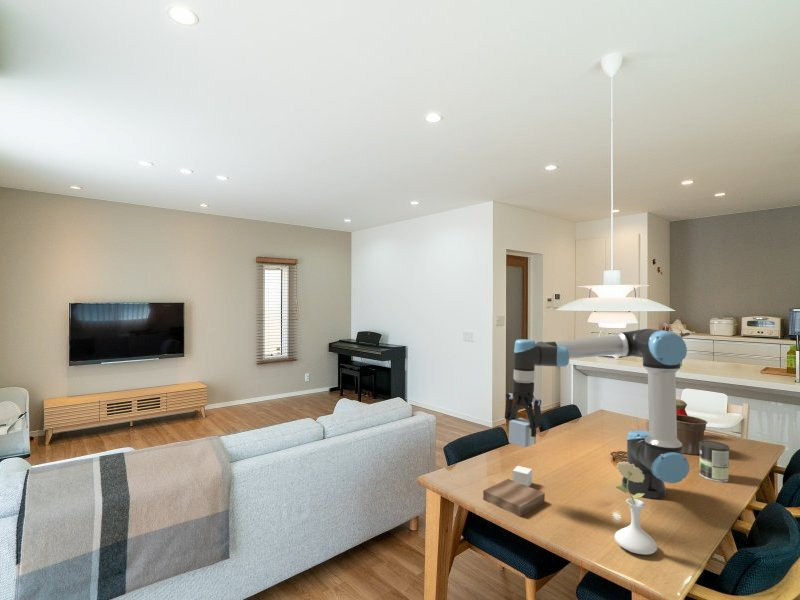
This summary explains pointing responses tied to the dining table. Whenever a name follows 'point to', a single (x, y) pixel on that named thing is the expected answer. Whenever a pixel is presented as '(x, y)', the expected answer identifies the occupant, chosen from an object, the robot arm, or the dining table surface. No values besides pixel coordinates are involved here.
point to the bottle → (680, 407)
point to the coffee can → (714, 461)
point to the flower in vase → (634, 516)
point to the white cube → (522, 475)
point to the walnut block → (514, 497)
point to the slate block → (519, 432)
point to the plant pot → (690, 433)
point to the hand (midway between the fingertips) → (521, 441)
